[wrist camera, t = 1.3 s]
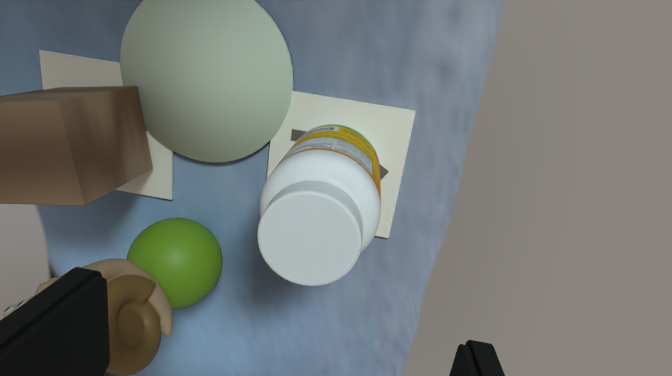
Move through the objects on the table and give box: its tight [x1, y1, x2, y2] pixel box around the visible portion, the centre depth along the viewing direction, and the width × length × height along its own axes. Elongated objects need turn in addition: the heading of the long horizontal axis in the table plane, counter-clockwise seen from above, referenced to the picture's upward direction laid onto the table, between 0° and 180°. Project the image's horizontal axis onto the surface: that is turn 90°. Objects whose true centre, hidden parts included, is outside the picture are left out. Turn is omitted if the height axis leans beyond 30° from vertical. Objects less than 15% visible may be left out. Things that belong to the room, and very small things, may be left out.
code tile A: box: [267, 91, 416, 238], centre depth 25 cm, size 8×8×1 cm
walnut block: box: [0, 86, 153, 206], centre depth 22 cm, size 5×5×6 cm
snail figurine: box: [4, 218, 223, 375], centre depth 22 cm, size 5×6×12 cm
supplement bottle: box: [257, 124, 381, 286], centre depth 20 cm, size 5×5×10 cm
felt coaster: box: [120, 0, 294, 163], centre depth 23 cm, size 10×10×1 cm
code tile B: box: [39, 50, 173, 200], centre depth 25 cm, size 8×8×1 cm
